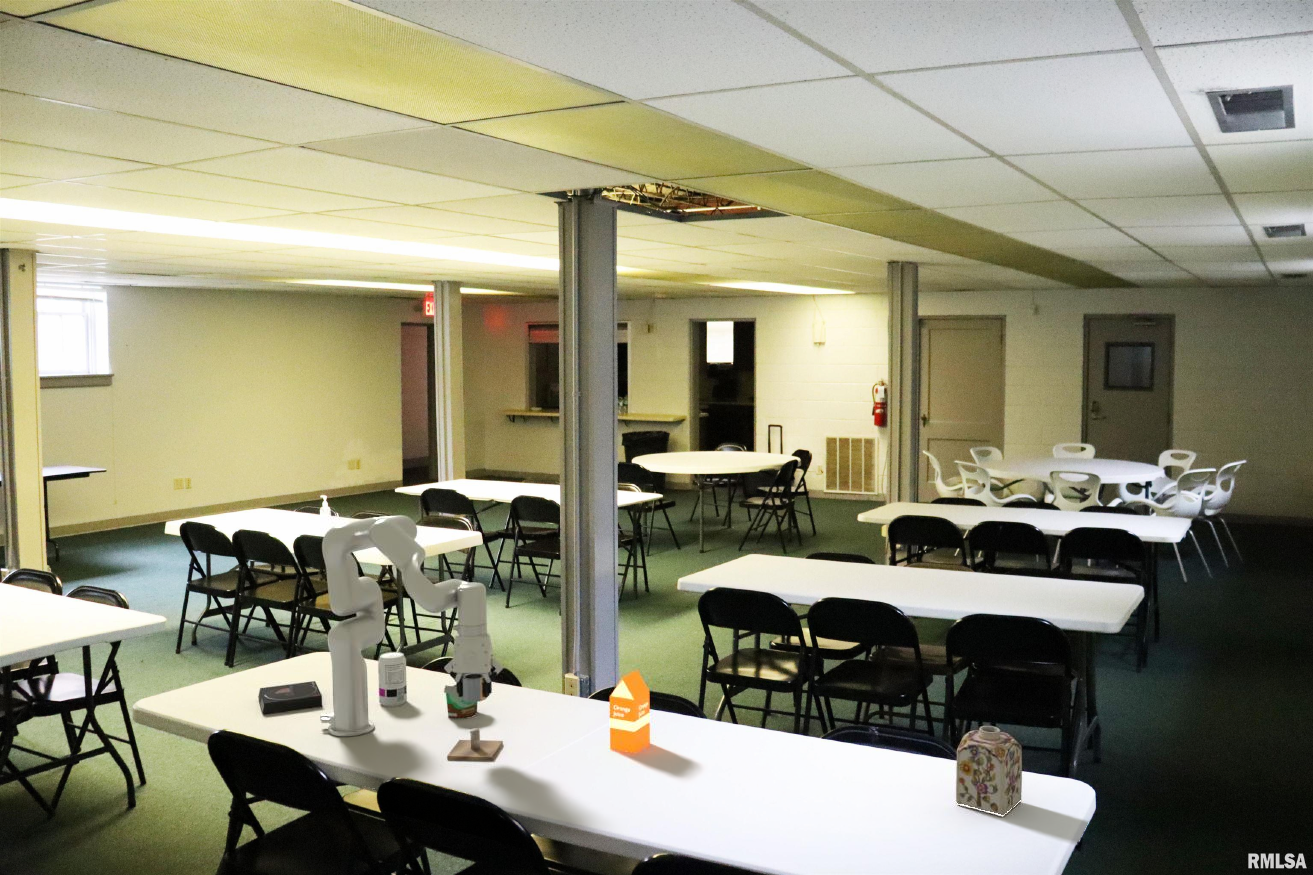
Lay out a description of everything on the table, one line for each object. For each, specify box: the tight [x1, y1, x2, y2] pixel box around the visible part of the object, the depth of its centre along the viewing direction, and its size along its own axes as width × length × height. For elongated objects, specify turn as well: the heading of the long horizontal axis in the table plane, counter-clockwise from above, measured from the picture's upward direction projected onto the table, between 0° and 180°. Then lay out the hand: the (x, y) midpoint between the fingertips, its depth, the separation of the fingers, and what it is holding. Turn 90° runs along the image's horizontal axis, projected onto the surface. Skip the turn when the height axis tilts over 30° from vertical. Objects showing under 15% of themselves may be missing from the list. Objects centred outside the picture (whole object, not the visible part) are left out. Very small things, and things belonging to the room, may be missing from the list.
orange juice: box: [609, 669, 651, 754], centre depth 287 cm, size 8×9×20 cm
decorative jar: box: [955, 725, 1023, 815], centre depth 248 cm, size 12×12×18 cm
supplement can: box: [377, 651, 408, 708], centre depth 326 cm, size 8×8×15 cm
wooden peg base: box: [446, 728, 504, 762], centre depth 284 cm, size 12×12×6 cm
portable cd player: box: [257, 680, 323, 716], centre depth 327 cm, size 16×17×4 cm
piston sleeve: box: [461, 674, 487, 703], centre depth 283 cm, size 6×6×6 cm
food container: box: [443, 684, 478, 720], centre depth 314 cm, size 12×6×10 cm, turn 143°
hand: (474, 695), depth 283 cm, fingers closed on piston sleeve, 6 cm apart
